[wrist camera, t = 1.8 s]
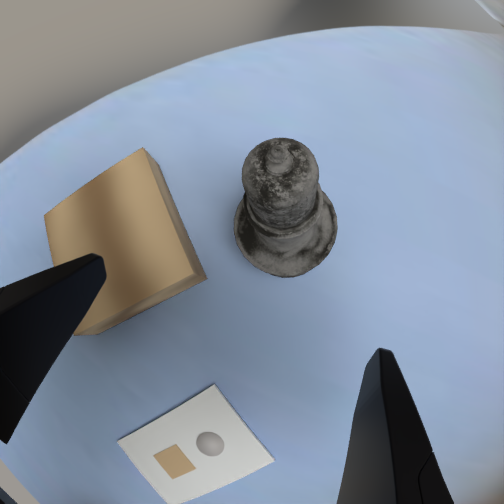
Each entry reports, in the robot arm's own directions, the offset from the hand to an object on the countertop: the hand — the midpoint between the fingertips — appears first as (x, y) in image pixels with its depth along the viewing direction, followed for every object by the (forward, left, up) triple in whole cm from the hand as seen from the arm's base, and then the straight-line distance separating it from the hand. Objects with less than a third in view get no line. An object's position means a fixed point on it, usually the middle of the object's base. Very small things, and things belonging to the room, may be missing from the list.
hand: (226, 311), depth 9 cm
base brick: (-7, +9, -12) cm, 16 cm away
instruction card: (-9, -7, -12) cm, 17 cm away
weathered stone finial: (+4, +4, -12) cm, 13 cm away
